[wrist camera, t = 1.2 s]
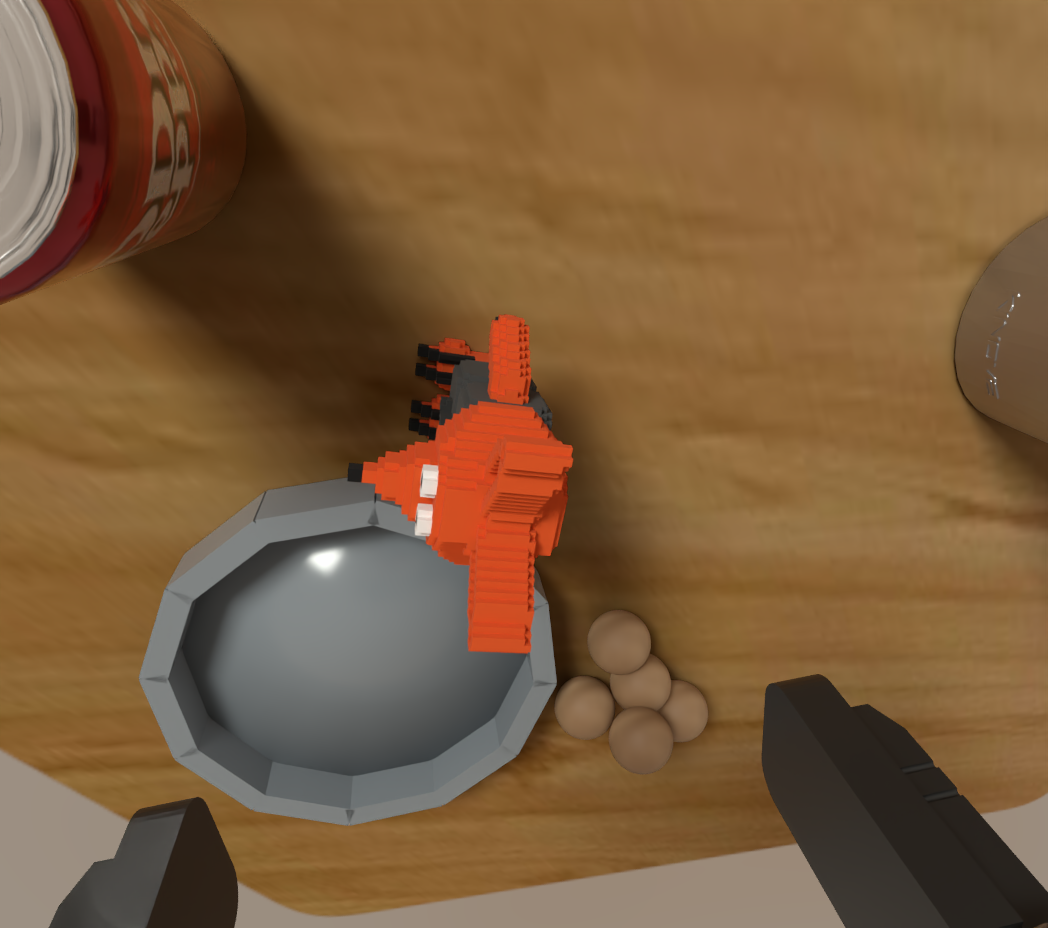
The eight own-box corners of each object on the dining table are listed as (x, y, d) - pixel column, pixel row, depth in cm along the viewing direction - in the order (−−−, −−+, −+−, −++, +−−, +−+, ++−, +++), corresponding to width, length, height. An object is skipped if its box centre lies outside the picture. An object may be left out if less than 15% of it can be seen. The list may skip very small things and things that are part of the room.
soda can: (247, -1, 20) (67, -184, 9) (254, 254, 23) (123, 340, 12) (-34, -50, 19) (-629, -331, 8) (11, 228, 22) (-384, 301, 11)
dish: (523, 449, 27) (534, 474, 25) (556, 740, 34) (567, 779, 32) (107, 515, 26) (80, 549, 24) (228, 807, 33) (216, 853, 30)
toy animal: (374, 270, 24) (350, 364, 13) (526, 294, 25) (621, 399, 14) (355, 477, 27) (322, 695, 16) (491, 490, 28) (547, 700, 17)
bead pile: (694, 582, 32) (742, 651, 27) (694, 705, 35) (736, 785, 30) (539, 610, 31) (562, 686, 26) (554, 734, 34) (576, 820, 30)
